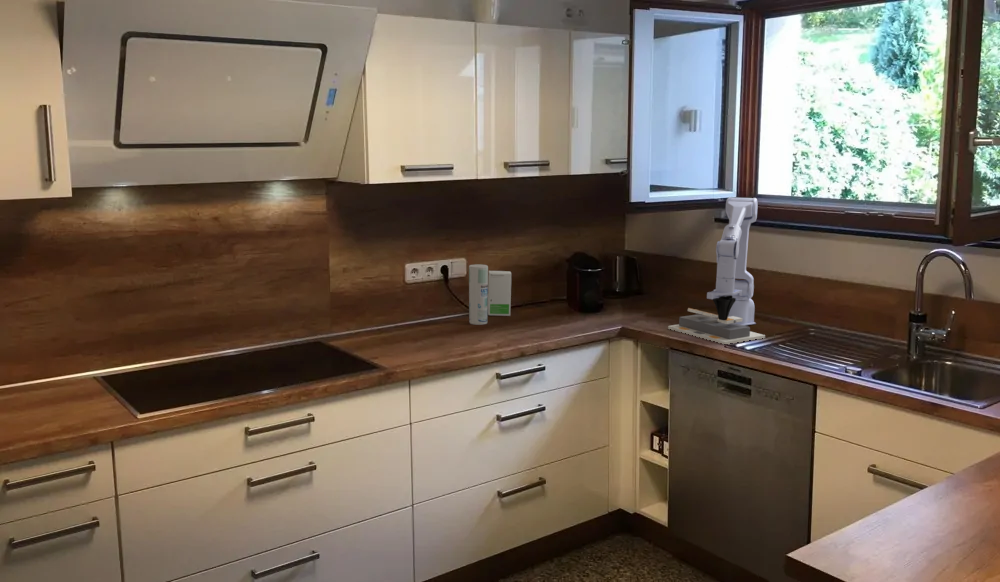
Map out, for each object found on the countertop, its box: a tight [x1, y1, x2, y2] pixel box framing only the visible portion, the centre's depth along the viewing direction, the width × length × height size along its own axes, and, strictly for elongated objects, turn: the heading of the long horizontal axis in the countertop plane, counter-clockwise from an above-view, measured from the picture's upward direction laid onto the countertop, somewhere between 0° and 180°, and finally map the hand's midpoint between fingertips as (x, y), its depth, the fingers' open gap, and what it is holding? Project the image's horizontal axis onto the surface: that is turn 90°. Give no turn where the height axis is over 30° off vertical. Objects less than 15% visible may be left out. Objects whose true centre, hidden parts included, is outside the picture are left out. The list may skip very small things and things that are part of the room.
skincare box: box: [487, 270, 512, 317], centre depth 313 cm, size 8×7×16 cm
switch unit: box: [667, 313, 766, 345], centre depth 286 cm, size 18×26×4 cm
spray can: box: [468, 263, 489, 326], centre depth 298 cm, size 6×6×20 cm
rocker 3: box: [718, 316, 743, 324], centre depth 278 cm, size 7×4×1 cm, turn 121°
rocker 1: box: [687, 307, 704, 315], centre depth 290 cm, size 7×4×1 cm, turn 122°
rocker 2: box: [702, 311, 718, 319], centre depth 284 cm, size 7×4×1 cm, turn 122°
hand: (722, 319), depth 277 cm, fingers closed, pressing on rocker 3
